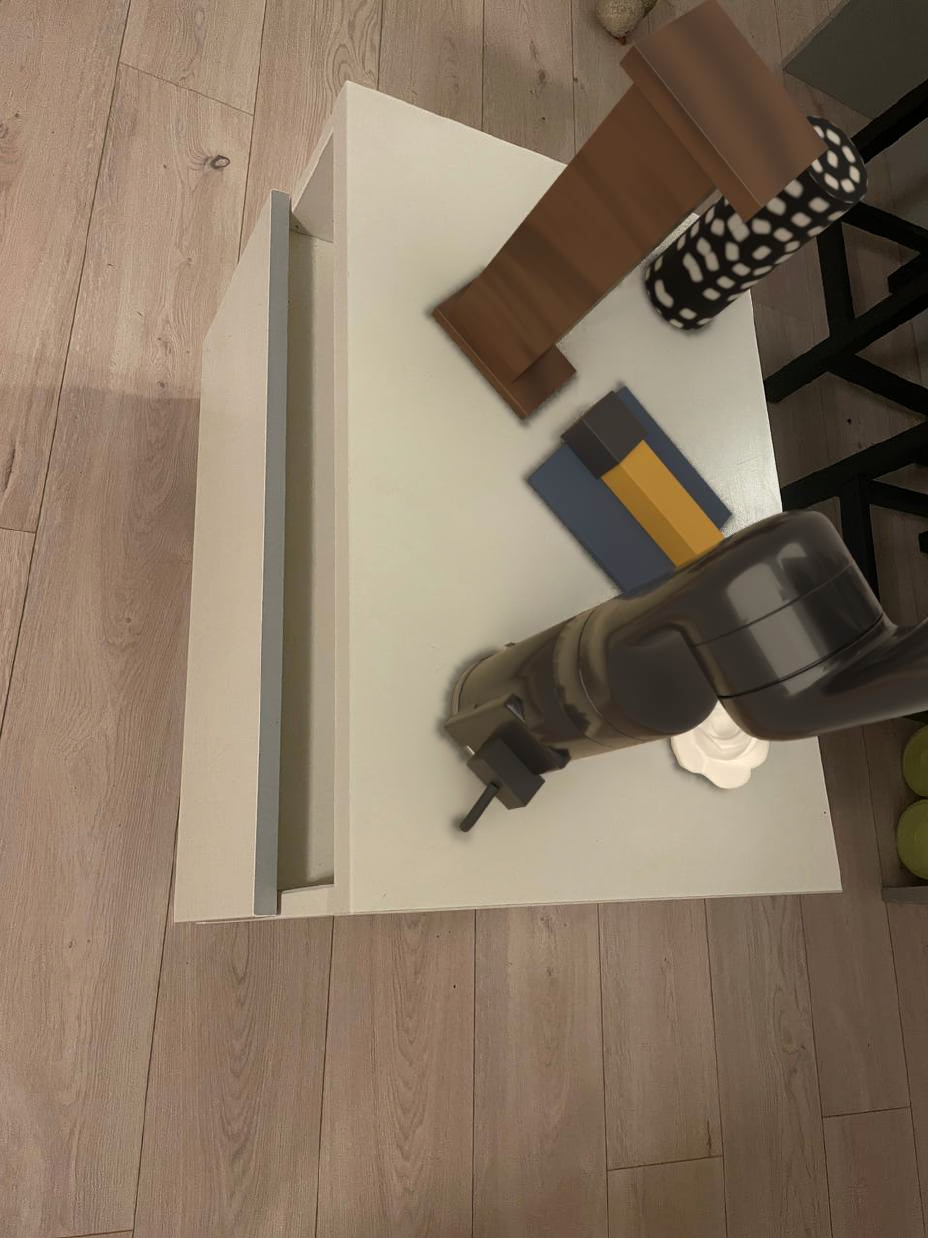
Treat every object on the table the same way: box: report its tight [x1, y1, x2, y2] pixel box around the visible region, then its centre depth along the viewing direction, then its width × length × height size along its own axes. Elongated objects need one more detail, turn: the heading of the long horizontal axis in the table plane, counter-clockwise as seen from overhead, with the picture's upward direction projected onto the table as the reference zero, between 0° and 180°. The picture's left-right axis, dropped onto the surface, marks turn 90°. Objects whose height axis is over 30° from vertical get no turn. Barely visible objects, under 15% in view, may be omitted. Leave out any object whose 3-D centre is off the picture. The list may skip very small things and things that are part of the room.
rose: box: [670, 700, 771, 790], centre depth 79 cm, size 10×4×10 cm
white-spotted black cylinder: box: [645, 115, 869, 331], centre depth 86 cm, size 8×8×20 cm
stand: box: [430, 0, 829, 421], centre depth 69 cm, size 10×12×30 cm
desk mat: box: [526, 385, 733, 593], centre depth 84 cm, size 16×16×1 cm
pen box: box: [560, 390, 726, 567], centre depth 82 cm, size 5×20×4 cm, turn 48°
